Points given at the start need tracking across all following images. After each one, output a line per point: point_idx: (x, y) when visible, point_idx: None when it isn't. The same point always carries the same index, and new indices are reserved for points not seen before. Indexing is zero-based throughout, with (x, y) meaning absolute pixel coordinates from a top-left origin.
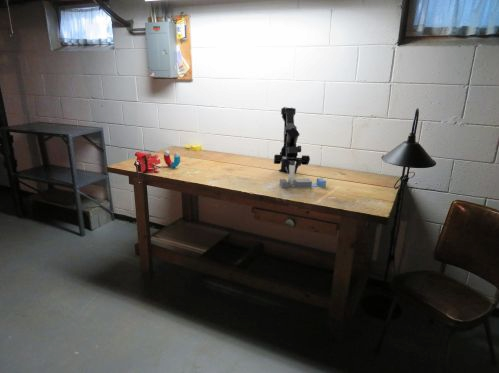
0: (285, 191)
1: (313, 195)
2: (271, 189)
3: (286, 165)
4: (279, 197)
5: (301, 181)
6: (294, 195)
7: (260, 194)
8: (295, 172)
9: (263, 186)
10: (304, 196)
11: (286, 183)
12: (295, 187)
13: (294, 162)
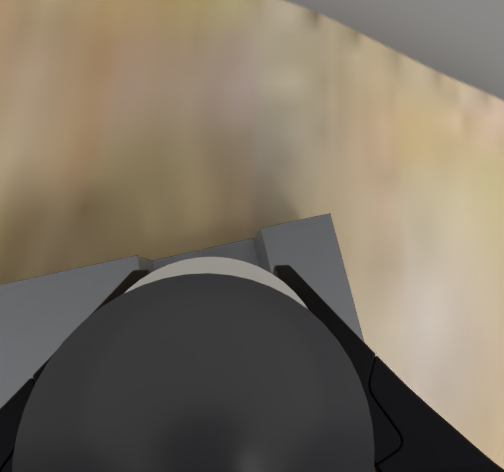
0: (276, 188)
1: (11, 98)
2: (406, 232)
3: (400, 394)
4: (331, 33)
5: (72, 295)
6: (199, 87)
7: (485, 93)
8: (139, 272)
9: (486, 315)
10: (108, 67)
11: (280, 224)
12: (169, 262)
13: (93, 324)
